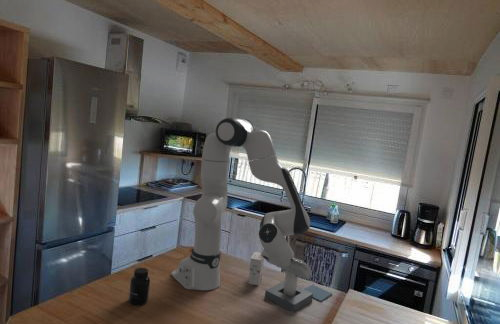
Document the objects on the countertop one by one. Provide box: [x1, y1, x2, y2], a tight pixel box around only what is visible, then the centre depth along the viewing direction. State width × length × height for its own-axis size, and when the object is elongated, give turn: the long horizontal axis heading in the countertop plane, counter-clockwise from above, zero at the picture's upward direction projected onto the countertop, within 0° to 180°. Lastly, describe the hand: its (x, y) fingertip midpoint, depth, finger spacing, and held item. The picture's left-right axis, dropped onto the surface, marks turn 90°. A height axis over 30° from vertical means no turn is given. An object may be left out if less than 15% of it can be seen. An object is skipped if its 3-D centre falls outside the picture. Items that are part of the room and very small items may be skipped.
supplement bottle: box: [128, 267, 151, 306], centre depth 124 cm, size 7×7×12 cm
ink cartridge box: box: [248, 251, 265, 286], centre depth 152 cm, size 9×5×15 cm, turn 168°
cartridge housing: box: [264, 280, 314, 313], centre depth 140 cm, size 14×14×3 cm
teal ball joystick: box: [283, 270, 299, 298], centre depth 139 cm, size 5×5×14 cm
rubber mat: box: [303, 284, 333, 303], centre depth 147 cm, size 10×10×1 cm
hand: (292, 273), depth 139 cm, fingers closed on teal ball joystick, 5 cm apart
